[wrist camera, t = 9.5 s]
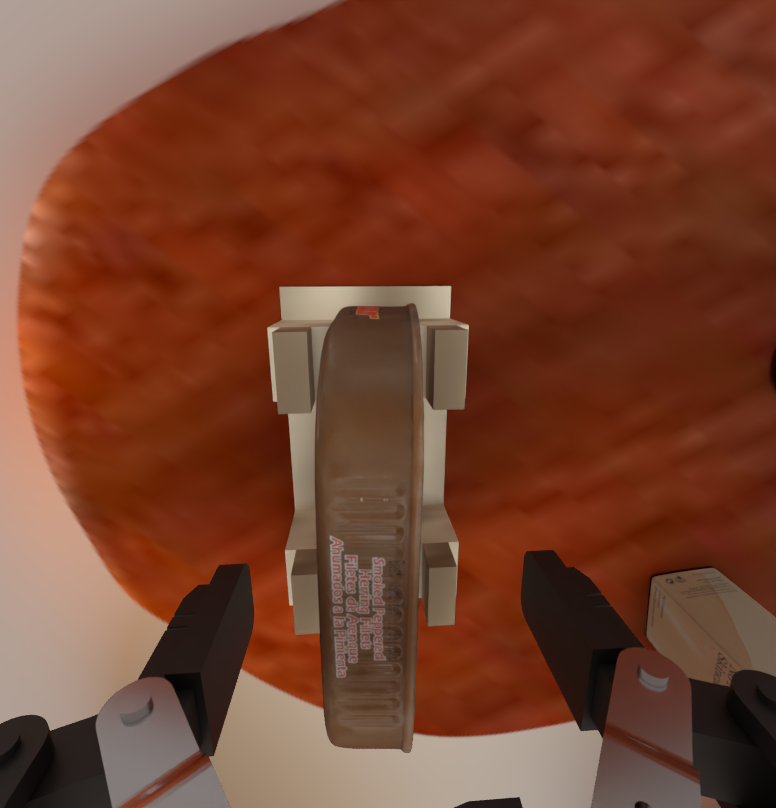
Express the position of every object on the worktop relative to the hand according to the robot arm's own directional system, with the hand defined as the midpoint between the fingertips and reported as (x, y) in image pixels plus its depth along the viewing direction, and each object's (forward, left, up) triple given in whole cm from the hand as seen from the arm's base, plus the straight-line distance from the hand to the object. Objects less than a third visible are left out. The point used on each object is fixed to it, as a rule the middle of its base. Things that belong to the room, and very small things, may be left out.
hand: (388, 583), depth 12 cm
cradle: (0, 0, -11) cm, 11 cm away
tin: (0, 0, -7) cm, 7 cm away
